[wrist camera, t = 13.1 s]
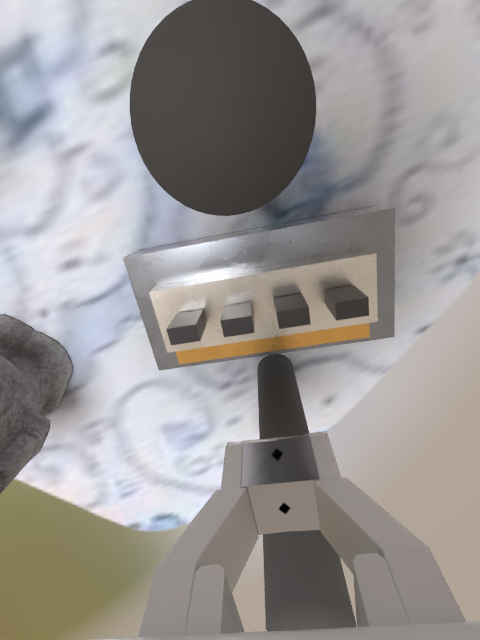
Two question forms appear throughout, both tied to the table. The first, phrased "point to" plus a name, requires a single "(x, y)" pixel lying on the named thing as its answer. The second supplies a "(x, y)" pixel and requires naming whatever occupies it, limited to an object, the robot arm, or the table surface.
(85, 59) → the table surface
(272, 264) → the breaker panel
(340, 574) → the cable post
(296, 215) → the table surface
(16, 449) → the figurine
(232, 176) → the disc
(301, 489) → the robot arm
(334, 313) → the breaker paddles
